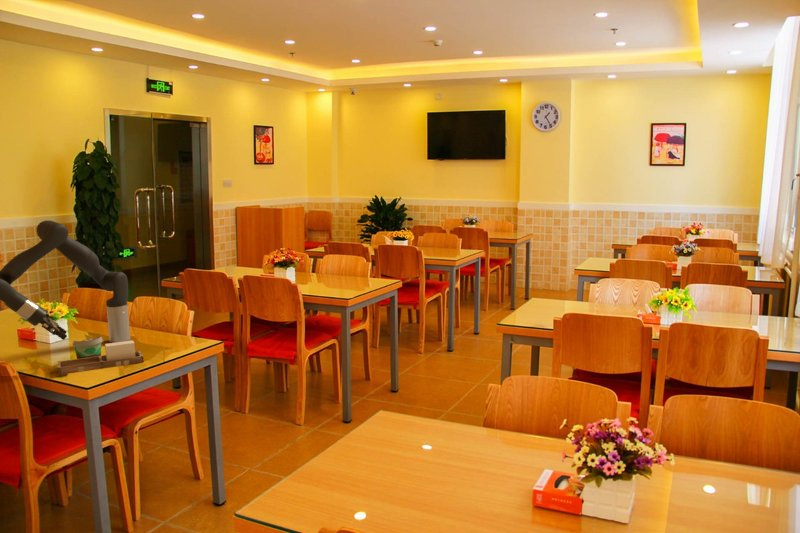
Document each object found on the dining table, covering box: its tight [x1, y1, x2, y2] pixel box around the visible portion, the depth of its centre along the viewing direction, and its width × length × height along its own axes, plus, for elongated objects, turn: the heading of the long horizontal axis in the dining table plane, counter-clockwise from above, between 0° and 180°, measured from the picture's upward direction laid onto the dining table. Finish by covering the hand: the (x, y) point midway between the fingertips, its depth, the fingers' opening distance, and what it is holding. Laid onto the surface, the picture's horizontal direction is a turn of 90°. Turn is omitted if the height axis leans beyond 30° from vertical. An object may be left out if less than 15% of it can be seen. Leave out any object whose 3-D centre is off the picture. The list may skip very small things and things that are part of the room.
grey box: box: [104, 340, 136, 361], centre depth 287 cm, size 5×11×8 cm, turn 117°
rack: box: [57, 350, 145, 377], centre depth 284 cm, size 11×32×4 cm, turn 117°
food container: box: [72, 335, 103, 359], centre depth 292 cm, size 12×6×10 cm, turn 137°
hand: (65, 335), depth 287 cm, fingers open, 8 cm apart
